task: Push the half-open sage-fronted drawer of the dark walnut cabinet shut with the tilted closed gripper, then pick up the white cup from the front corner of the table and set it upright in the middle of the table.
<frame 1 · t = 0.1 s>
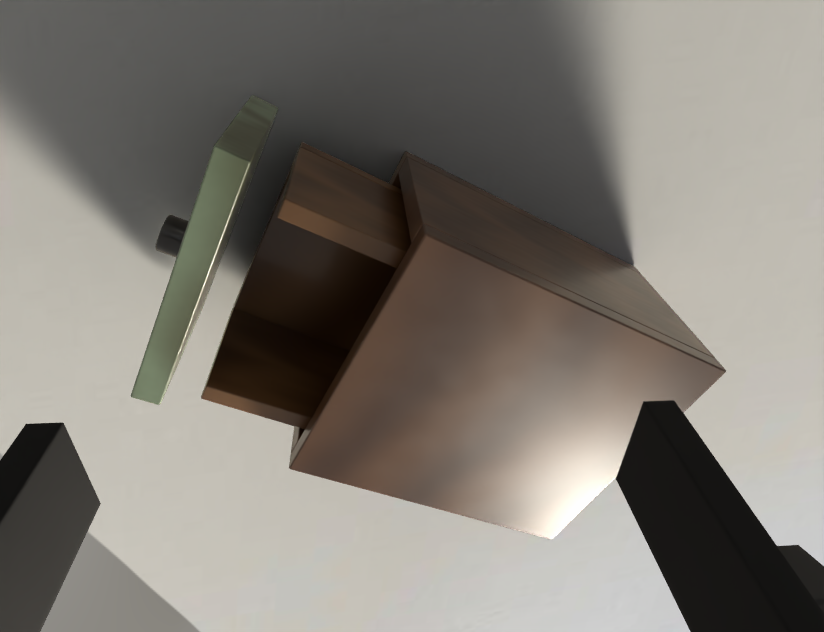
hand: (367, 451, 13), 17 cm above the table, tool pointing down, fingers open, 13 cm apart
cabinet: (467, 306, 31), on the table
top drawer: (328, 296, 25), point 5 cm above the table, slide at 6.0 cm
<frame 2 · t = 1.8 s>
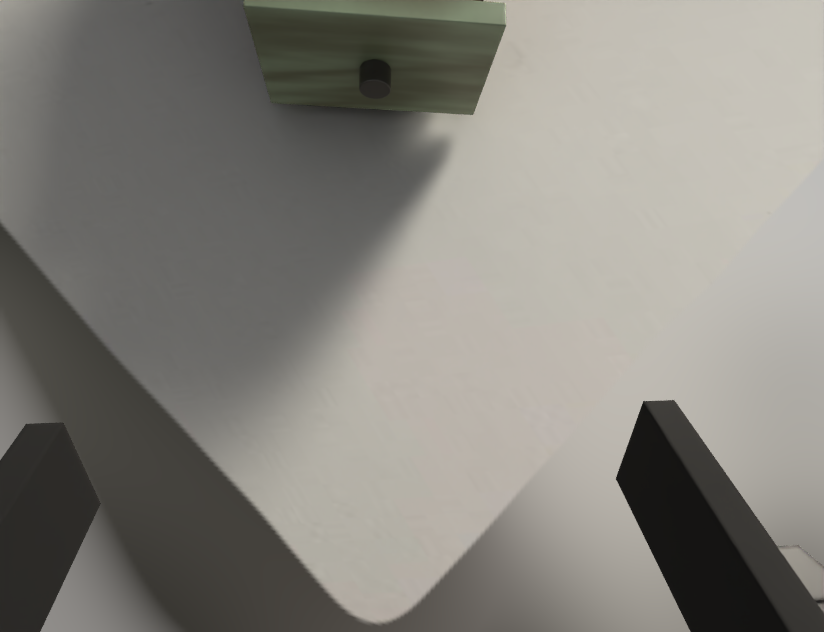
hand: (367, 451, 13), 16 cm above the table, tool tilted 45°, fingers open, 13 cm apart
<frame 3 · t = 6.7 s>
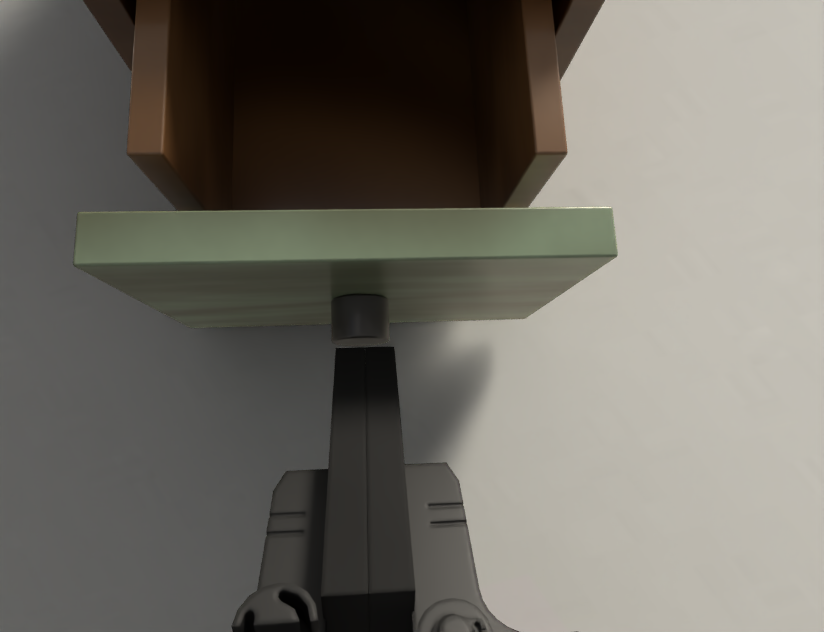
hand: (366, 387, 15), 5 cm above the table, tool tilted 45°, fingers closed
top drawer: (355, 99, 16), point 5 cm above the table, slide at 5.6 cm, touching gripper
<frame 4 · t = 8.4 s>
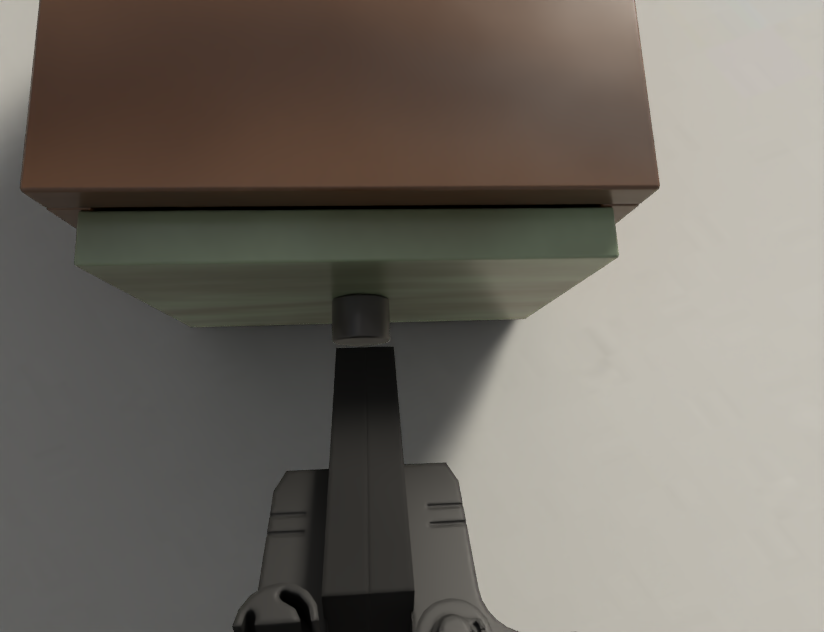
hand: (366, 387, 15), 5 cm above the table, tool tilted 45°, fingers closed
cabinet: (357, 113, 21), on the table
top drawer: (356, 99, 16), point 5 cm above the table, slide at 0.0 cm, touching cabinet, gripper
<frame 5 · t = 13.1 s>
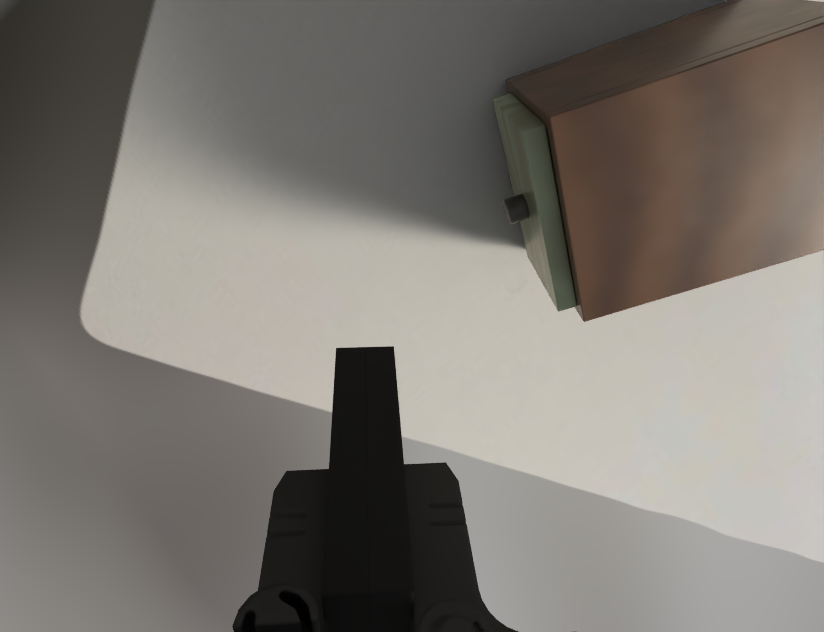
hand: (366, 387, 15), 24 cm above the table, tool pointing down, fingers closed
cabinet: (632, 138, 36), on the table
top drawer: (624, 173, 33), point 5 cm above the table, slide at 0.0 cm, touching cabinet
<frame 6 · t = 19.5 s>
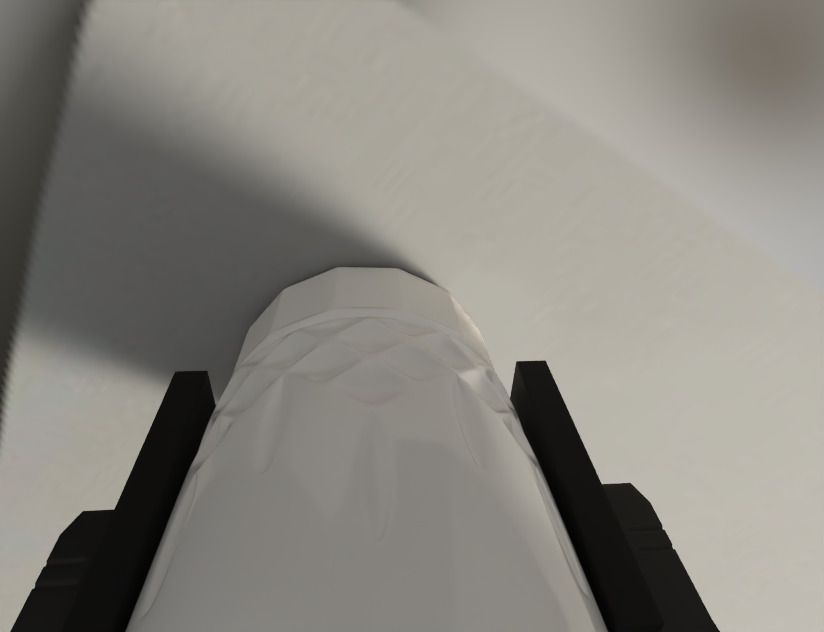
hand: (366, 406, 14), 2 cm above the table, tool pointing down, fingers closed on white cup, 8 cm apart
white cup: (365, 361, 16), on the table, touching gripper
when the fingers open (2 cm above the table, at t = 27.2 s): white cup stays where it is, on the table.
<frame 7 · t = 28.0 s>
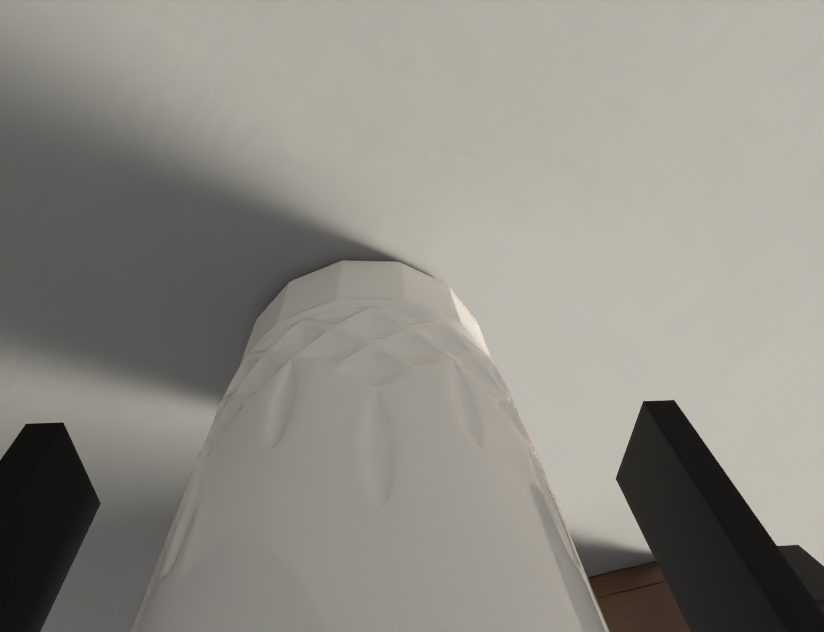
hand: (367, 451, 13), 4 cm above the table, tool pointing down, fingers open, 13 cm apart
white cup: (367, 353, 16), on the table
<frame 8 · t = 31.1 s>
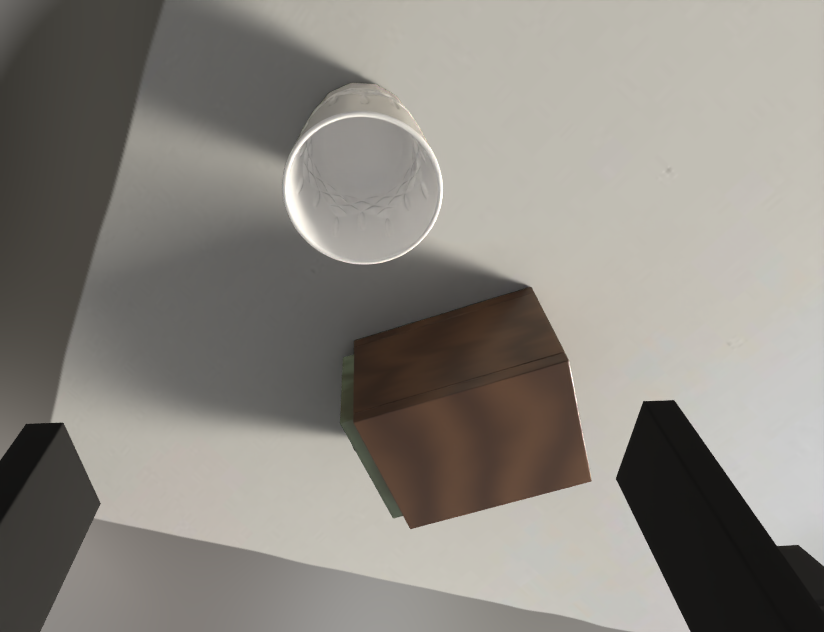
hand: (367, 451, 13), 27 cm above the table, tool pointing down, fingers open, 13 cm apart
cabinet: (460, 371, 47), on the table
top drawer: (441, 417, 43), point 5 cm above the table, slide at 0.0 cm, touching cabinet
white cup: (362, 136, 35), on the table
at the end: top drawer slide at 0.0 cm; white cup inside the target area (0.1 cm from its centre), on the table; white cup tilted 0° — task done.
